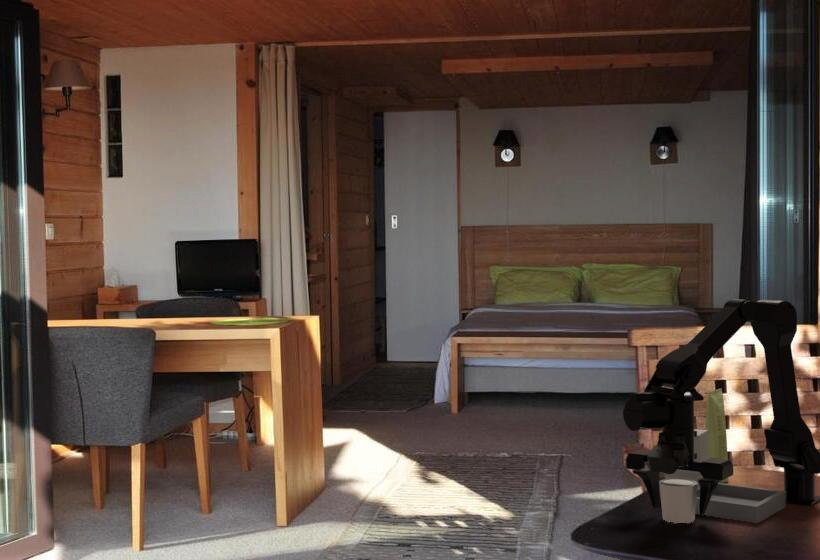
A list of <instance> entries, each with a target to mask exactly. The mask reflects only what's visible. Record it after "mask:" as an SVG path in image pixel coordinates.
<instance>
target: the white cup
mask: <svg viewBox="0 0 820 560" xmlns="http://www.w3.org/2000/svg"><path fill="white" fill-rule="evenodd" d="M697 487H698V483H697V482H696V481H693V480H688V479H678V478H675V479H665V478H664V479H659V497H660V503H661V515H662V516H661V517H662V520H663V521H664V520H665V521H664V522H666V521H667V523H670V522H673V523H672V524H677V523H687V524H691V522H692V523H694V522H695V521H694V520H695V519H696V514H695V510H696V498H697ZM693 521H694V522H693Z"/></svg>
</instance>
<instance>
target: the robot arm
mask: <svg viewBox="0 0 820 560" xmlns="http://www.w3.org/2000/svg"><path fill="white" fill-rule="evenodd" d="M746 323H750V324H751V328H752V332H753V334H754V335H755V338H757V340H758V342H759V343H760V344H761V346H762V347H763V351H764V359H765V365H766V372H767V378H768V380H767V381H768V387H769V393H770V401H771V406H772V407H771V408H772V414H773V420H772V422H771V425H770V426H769V428H764V431H763V432H764V433H763V434H764V437H765V442H766V444H765V449H766V450H768V452H769V455H770V456H771V459H772V461H773V464H774V467H776V468H782V469H783V491H786V503H791V504H792V503H793V504H798V505H805V506H806V505H807V506H812V505H814V504H815V503H817V502H819V501H820V496H818V495H817V496H816V474H818V475H819V474H820V451H819V450H818V448H817V447H816V444H815V439H814V437H813V434H812V430H811V428H809V426H808V425H807V423H806V422H805V420H804V419H803V417H802V415H801V407H800V401H799V395H798V387H797V380H796V373H795V365H794V357H793V351H792V342H793V341H794V338H795V336H796V334H797V331H798V314H797V310H796V307H795V305H794V304H792V303H791V302H790V301H787V300H776V299H775V300H773V299H772V300H771V299H759V300H756V301H750V300H748V299H737V298H732V299H729V300H727V301H726V302H725V303H724V304H723V308H721V310H719V312H718V313H717V314H716V315H714V316H713V318H712V319H711V320H709V322H708V323H707V324H706V325H705V326H704V327H703V328H702V329H700V331H699V332H698V333H697V334H696V335H694V337H693V338H692V339H691V340H690V341H689V342H688V343H686V344H685V345H684V346H681V347H678V348H676V349H673V350H672V351H670V352H669V353H667V354H666V355H664V356H663V357H662V358H660V359H659V360H658V362H657V363H656V365H655V370H654V372H653V374H652V376H651V378H649V379H650V380H649V381H648V383H647V385H646V386H645V388H644V390H643V392H638V391H632V392H630V399H628V400H627V401H626V402H625V405H624V407H623V410H622V416H623V421H624V423H625V425H626V427H627V428H628V429H629V430H630V431H632V432H633V431H634V432H636V431H647V430H656V429H661V431H660V432H659V433H658V436H657V440H658V441H657V443H656V444H655V445H654V446H652V448H651V449H650V450H648V449H637V450H634V451H631V452H629V453H627V455H626V457H625V459H624V460H625V463H624V466H625V469H626V470H627V469H629V470H632V474H634V475H637V476H638V477H639V478H640V479H641V480H642V482H643V484H644V485H645V488H646V491H647V494H648V497H649V500H650V503H651V504H652V507H653V509H658V507H659V503H660V502H659V501H660V486H659V481H660V474H661V473H662V474H663V473H664V475H665V474H673V473H675V472H676V470H677V469H679V470H687V471H695V472H700V474H701V475H702V476H703V478H701V479H699V480H698V482H699V485H700V504H699V509H700V515H699V516H704V513H705V511H706V509H707V506H708V504H709V501H710V499H711V496H712V494H713V492H714V490H715V488H716V486H717V485H718V483H719V482H720V481H722V480H724V479H726V478H728V479H729V478H730V477H732V476H734V464H733V462H732V461H731V460H730V459H728V460H727V459H718V458H710V459H707V460H705V461H702V462H700V461H694V460H695V459H697V453H694V437H696V436H697V431H694V429H695V402H698V401H699V402H700V401H701V402H702V401H704V396H703V395H702V394H701V393H700V392H698V390H697V389H696V387H697V386H698V385H699V383H700V382H701V380H702V379H703V378H704V376H705V375H706V372H707V369H708V368H707V367H708V363H709V362H710V360H711V359H712V358H713V357H714V356H716V354H717V353H718V352H719V351H720V350H721V349H722V348H723V347H724V346H725V345H726V344H727V342H729V340H730V339H732V338H733V337H734V335H735V334H737V333H738V331H740V329H741V328H742V327H743V326H744V325H745V324H746ZM687 465H688V466H687Z"/></svg>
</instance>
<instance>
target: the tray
mask: <svg viewBox="0 0 820 560" xmlns="http://www.w3.org/2000/svg"><path fill="white" fill-rule="evenodd" d="M699 504H700V486H699V487H697V498H696V510H695V515H697V514H698V515H699V516H701V515H700V509H699ZM786 504H787V502H786V491H784V490H780V489H779V490H778V489H777V490H776V489H770V488H763V487H755V486H748V485H746V486H745V485H739V484H731V483H725V482H724V483H718V485H717V486H716V488H715V490H714V492H713V494H712V496H711V499H710V501H709V504H708V506H707V509H706V511H705V513H704V515H706V516H705V517H711V516H713V518H718V517H720V519H724V518H726V520H731V519H733V520H732V521H738V520H740V522H744V521H746V522H745V523H751V522H752V523H753V524H758V523H760V522H762V521H764V520H765V519H768V518H769V517H771V516H773V515H774V514H776V513H778V512H779V511H781V510H782V509H785V508H786ZM704 515H703V516H704Z"/></svg>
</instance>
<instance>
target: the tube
mask: <svg viewBox="0 0 820 560" xmlns="http://www.w3.org/2000/svg"><path fill="white" fill-rule="evenodd" d="M722 389H723V388H718V389H715V390H710V391H708V396H707V402H706V403H707V404H706V414H705V427H704V430H709V459H710V458H718V459H727V460H729V457H728V440H727V423H726V422H727V421H726V414H725V413H726V412H725V403H724V396H723V390H722ZM727 482H729V477H728V478H726V479H724V480H722V481H720V482H719V483H724V484H725V483H727Z"/></svg>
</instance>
